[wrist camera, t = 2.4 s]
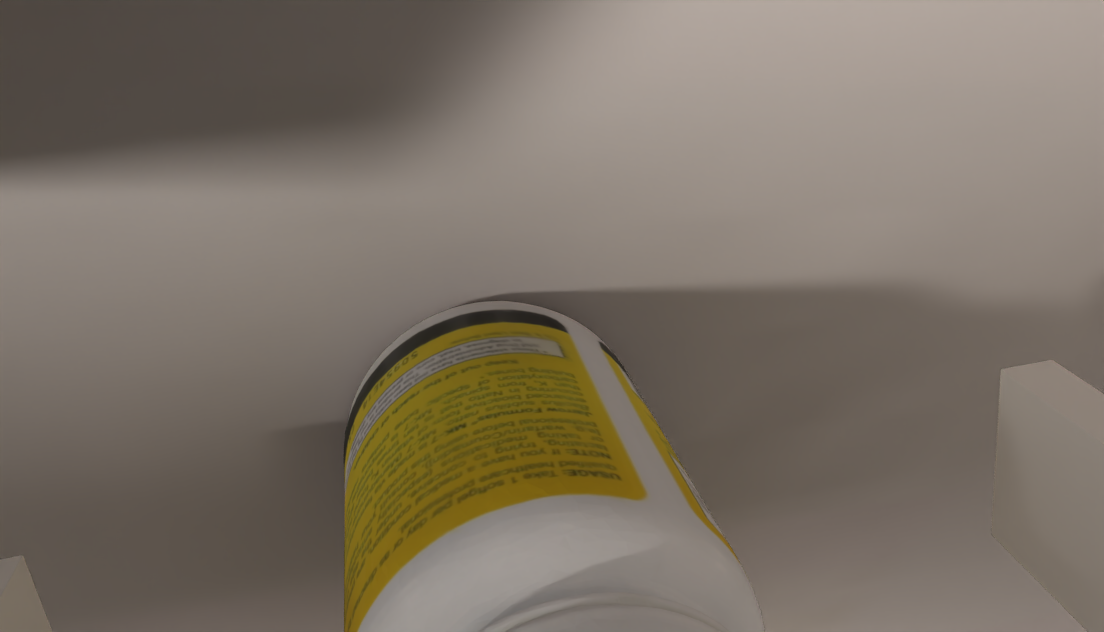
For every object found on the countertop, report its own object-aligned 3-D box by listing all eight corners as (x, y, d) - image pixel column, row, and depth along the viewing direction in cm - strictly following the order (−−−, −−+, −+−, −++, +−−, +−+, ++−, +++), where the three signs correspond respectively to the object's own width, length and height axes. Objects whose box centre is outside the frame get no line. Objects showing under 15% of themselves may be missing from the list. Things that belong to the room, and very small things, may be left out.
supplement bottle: (289, 476, 16) (233, 976, 9) (448, 238, 15) (544, 563, 8) (530, 592, 18) (661, 1096, 10) (689, 383, 17) (964, 769, 9)
